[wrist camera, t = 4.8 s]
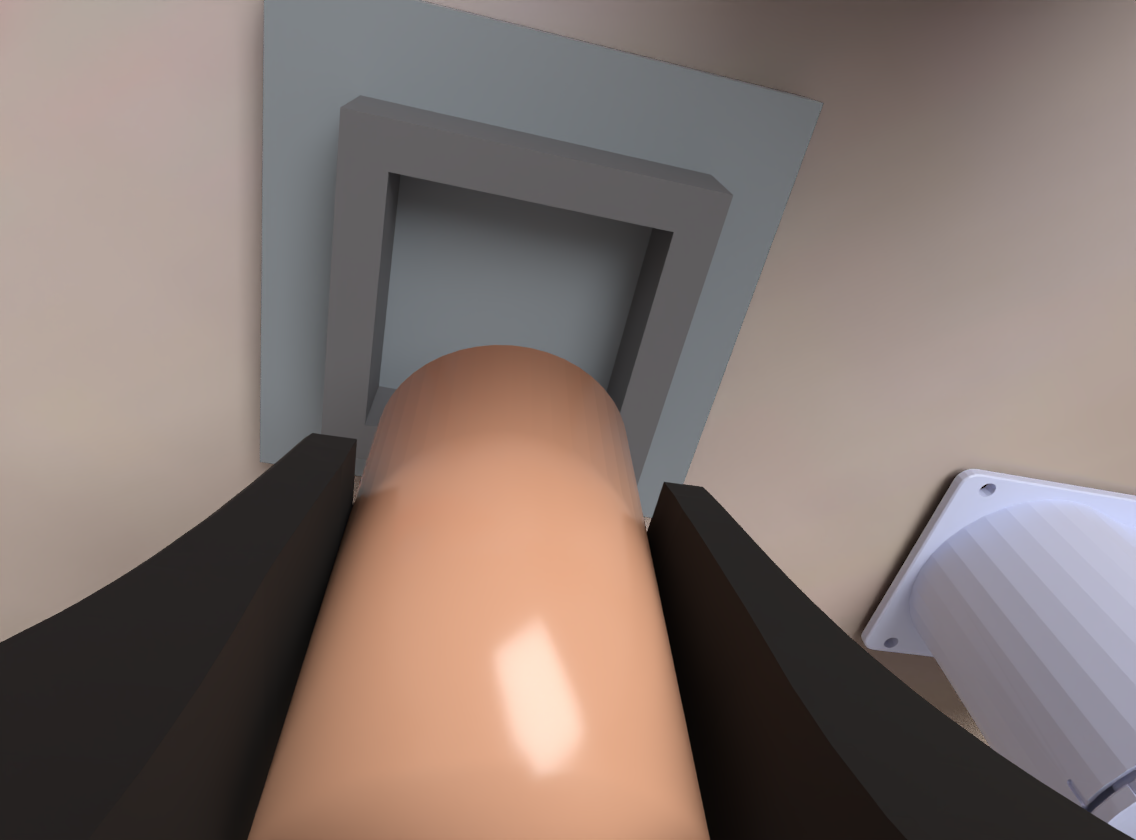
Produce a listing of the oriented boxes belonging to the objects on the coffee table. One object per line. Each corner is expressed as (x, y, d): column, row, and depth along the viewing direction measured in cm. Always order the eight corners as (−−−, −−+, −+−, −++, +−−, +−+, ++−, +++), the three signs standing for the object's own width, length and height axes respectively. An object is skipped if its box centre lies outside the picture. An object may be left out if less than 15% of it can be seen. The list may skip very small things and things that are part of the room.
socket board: (805, 96, 17) (860, 116, 14) (662, 496, 23) (682, 565, 20) (282, -35, 15) (228, -42, 12) (272, 438, 21) (235, 505, 18)
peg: (648, 357, 12) (772, 772, 6) (607, 554, 14) (665, 989, 8) (372, 333, 11) (199, 758, 5) (378, 542, 13) (264, 993, 8)
